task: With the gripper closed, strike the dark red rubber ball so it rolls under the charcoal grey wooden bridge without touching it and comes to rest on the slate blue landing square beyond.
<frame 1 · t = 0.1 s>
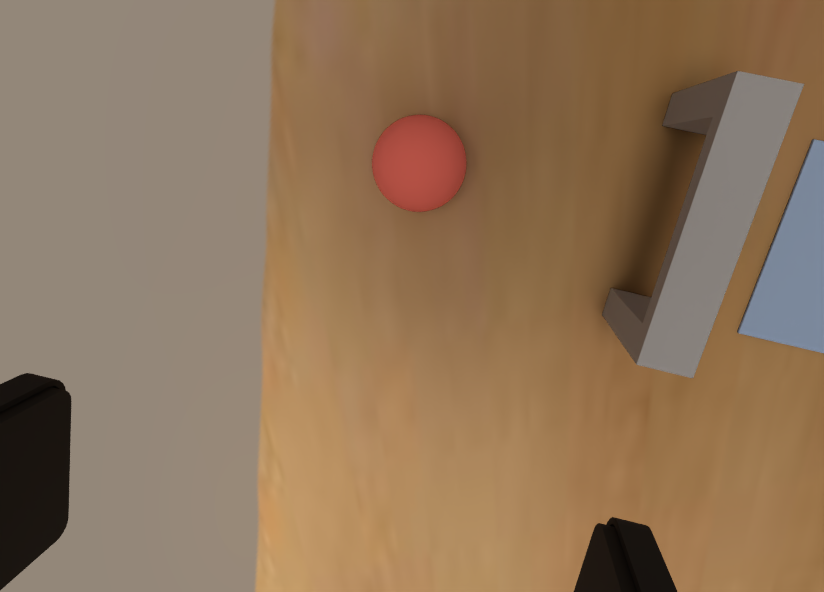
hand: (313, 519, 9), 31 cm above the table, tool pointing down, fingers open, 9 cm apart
ball: (419, 164, 35), on the table
bridge: (657, 215, 37), on the table
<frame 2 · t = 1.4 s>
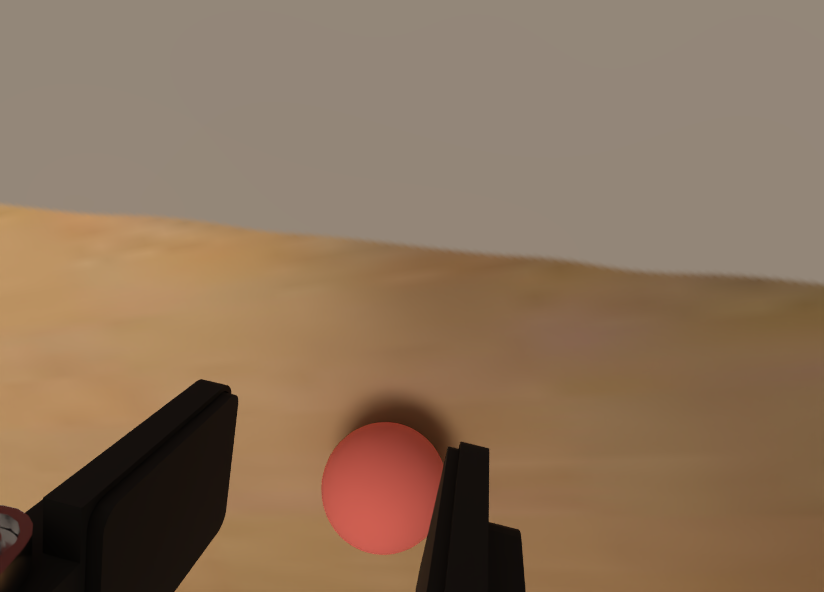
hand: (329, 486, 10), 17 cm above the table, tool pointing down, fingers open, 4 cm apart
ball: (384, 485, 27), on the table
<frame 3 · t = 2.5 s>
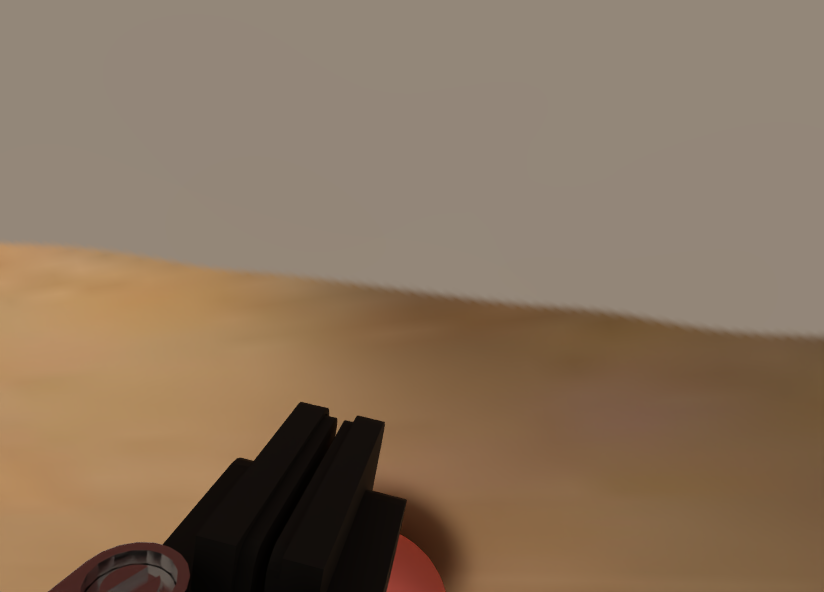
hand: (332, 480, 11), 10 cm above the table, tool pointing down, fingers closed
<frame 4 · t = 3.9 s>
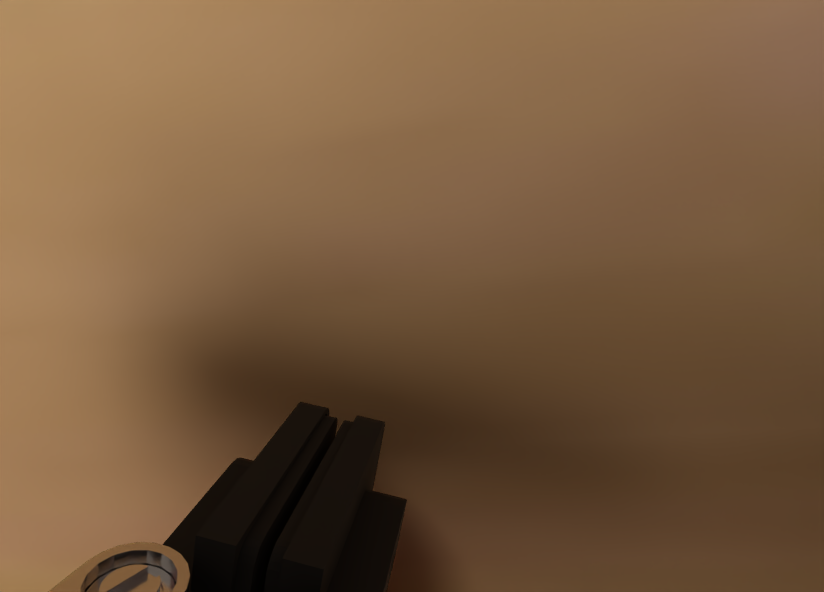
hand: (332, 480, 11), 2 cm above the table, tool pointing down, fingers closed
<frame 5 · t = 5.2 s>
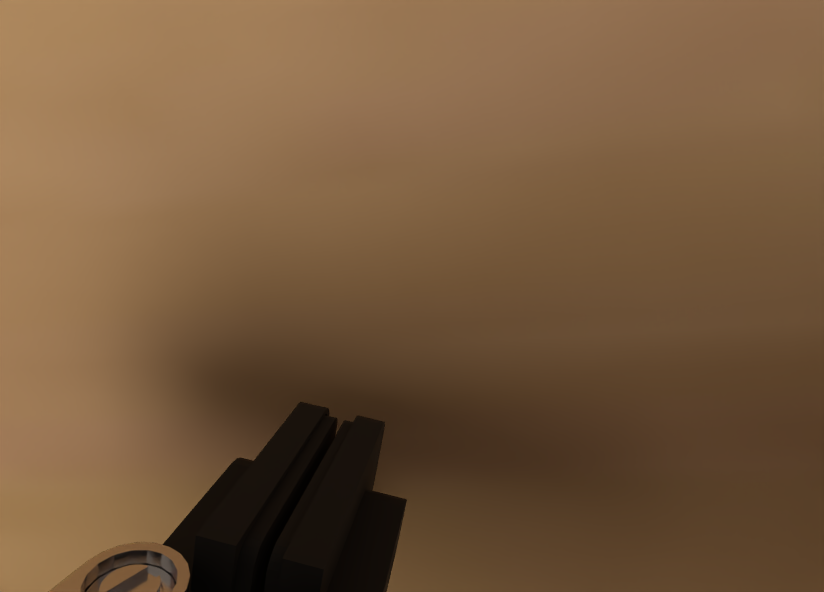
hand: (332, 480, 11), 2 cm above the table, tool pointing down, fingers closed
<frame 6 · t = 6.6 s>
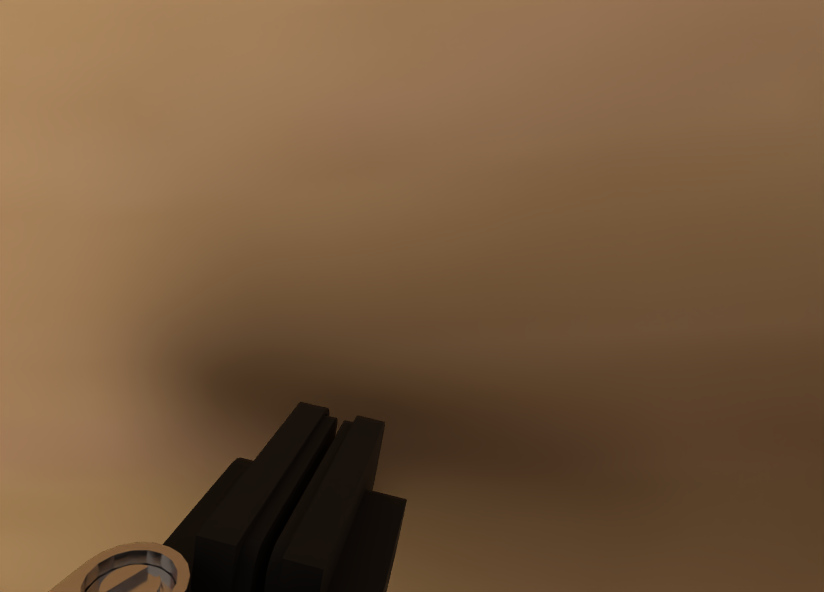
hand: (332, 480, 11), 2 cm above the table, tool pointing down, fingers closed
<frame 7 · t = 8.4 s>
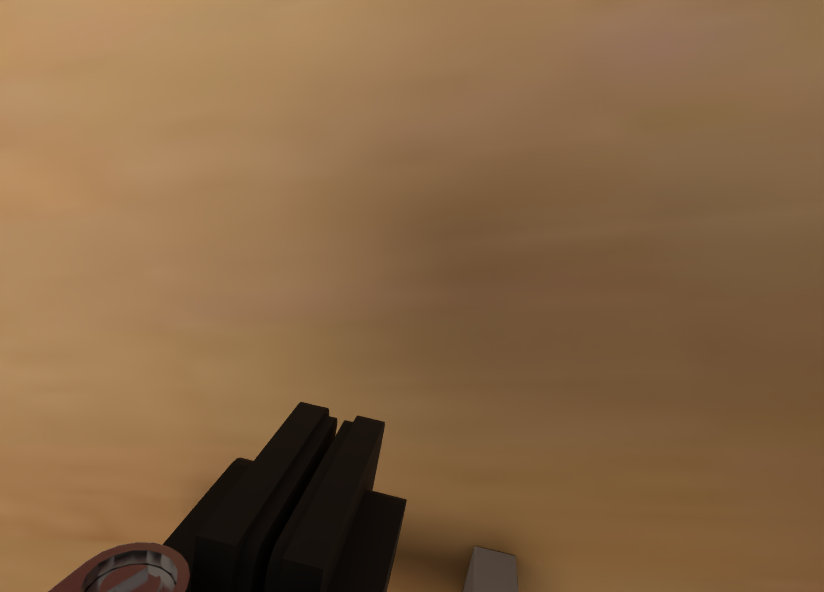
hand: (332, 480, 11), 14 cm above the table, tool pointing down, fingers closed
bridge: (359, 544, 28), on the table
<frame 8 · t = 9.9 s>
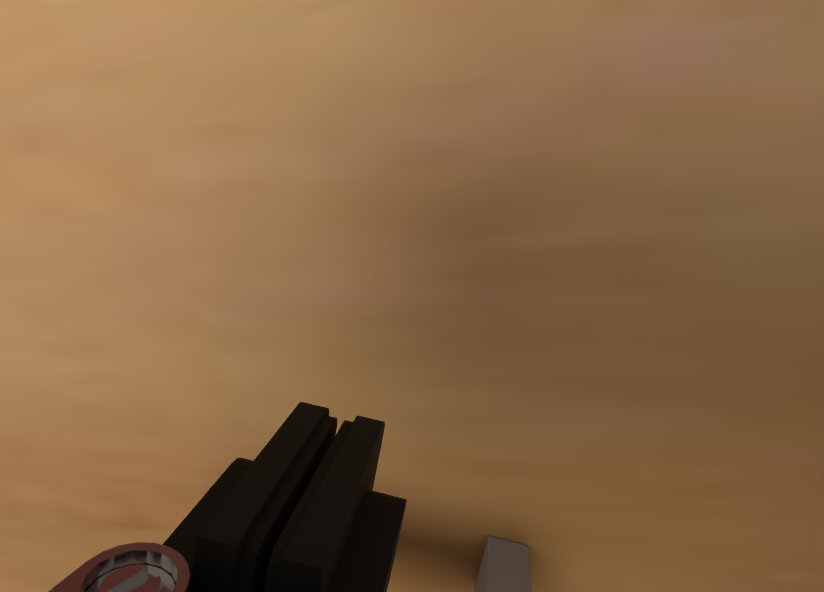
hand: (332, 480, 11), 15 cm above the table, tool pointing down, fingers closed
bridge: (376, 533, 29), on the table
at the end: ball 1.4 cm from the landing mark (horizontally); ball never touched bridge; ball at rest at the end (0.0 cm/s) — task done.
